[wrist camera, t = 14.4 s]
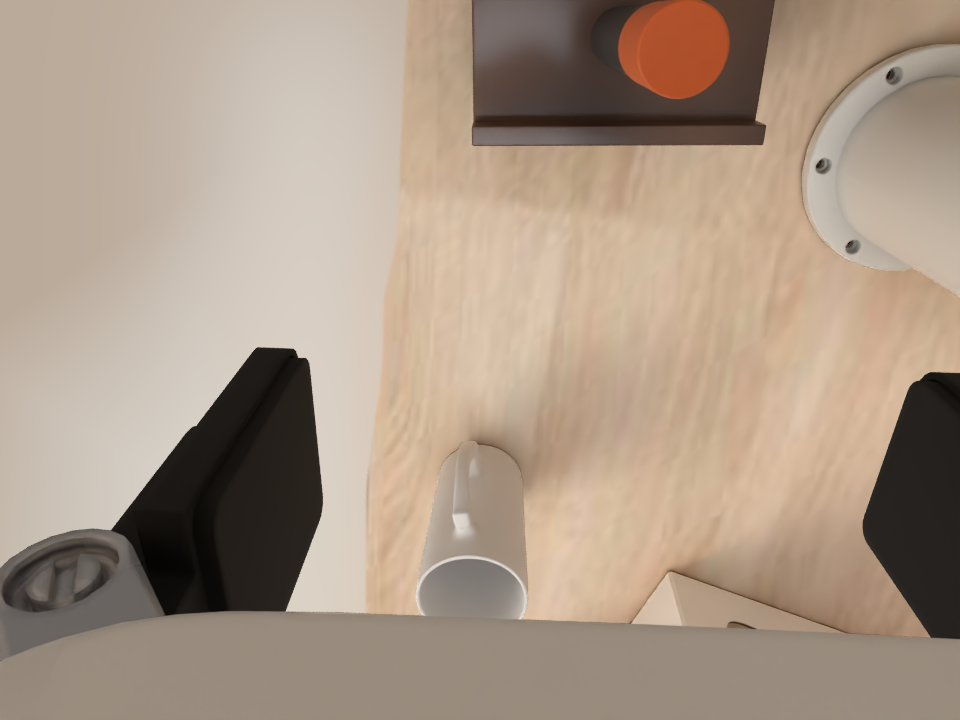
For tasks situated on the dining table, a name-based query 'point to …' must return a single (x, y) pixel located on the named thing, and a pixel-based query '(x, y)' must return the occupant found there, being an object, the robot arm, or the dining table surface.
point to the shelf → (603, 80)
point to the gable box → (715, 609)
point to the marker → (664, 45)
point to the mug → (475, 539)
